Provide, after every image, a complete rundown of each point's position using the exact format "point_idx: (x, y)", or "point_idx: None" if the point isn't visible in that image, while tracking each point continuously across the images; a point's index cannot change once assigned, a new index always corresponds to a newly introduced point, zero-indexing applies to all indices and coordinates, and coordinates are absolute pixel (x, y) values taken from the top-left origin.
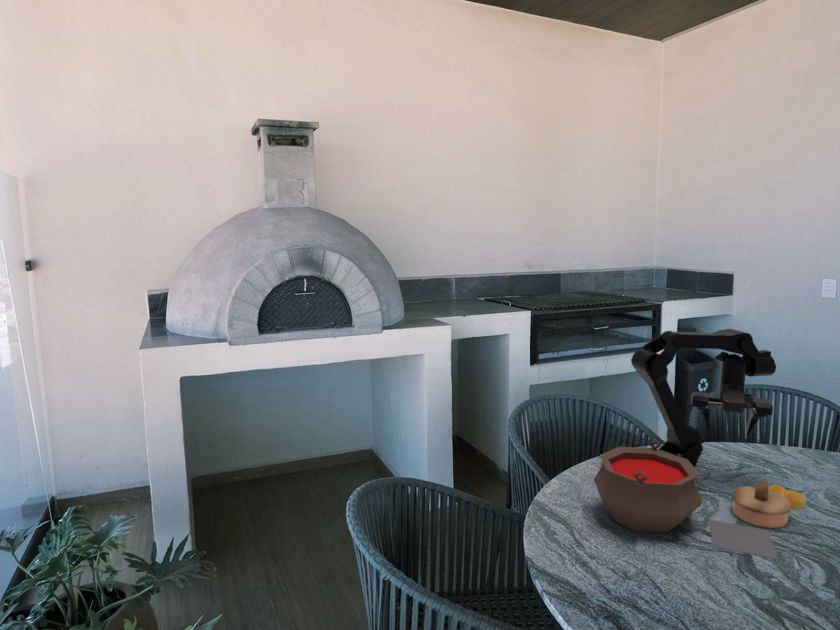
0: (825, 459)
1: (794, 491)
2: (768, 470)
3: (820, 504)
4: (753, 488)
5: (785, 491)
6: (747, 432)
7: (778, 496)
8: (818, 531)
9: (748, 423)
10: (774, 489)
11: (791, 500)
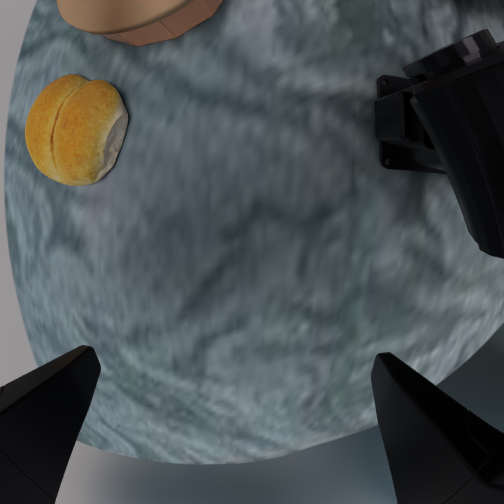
0: None
1: (37, 154)
2: (129, 354)
3: (18, 178)
4: (142, 6)
5: (54, 129)
6: (71, 361)
7: (76, 4)
8: (45, 18)
9: (52, 434)
10: (78, 109)
11: (51, 84)
